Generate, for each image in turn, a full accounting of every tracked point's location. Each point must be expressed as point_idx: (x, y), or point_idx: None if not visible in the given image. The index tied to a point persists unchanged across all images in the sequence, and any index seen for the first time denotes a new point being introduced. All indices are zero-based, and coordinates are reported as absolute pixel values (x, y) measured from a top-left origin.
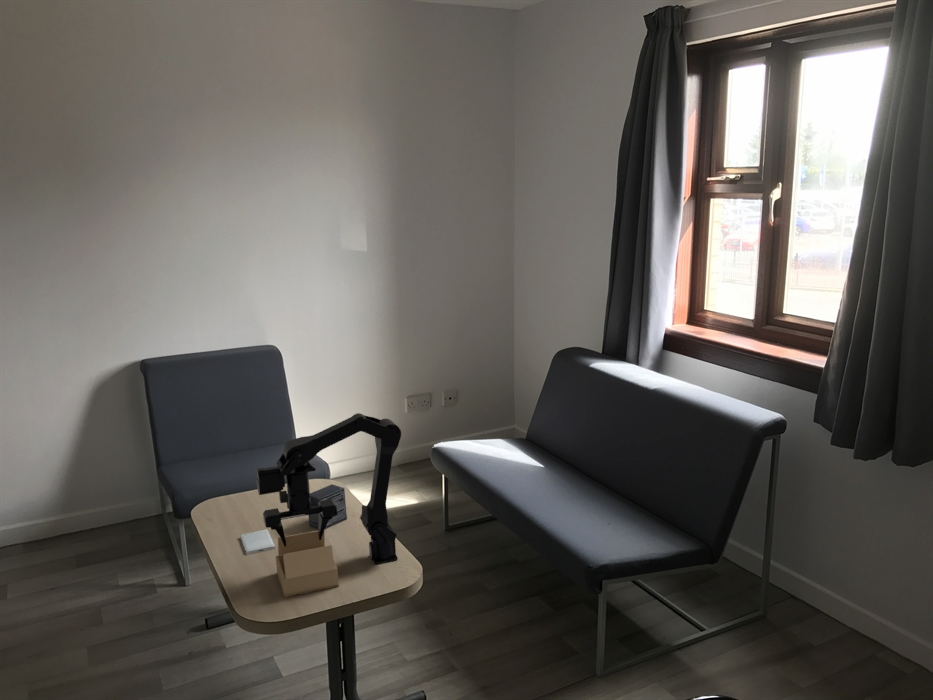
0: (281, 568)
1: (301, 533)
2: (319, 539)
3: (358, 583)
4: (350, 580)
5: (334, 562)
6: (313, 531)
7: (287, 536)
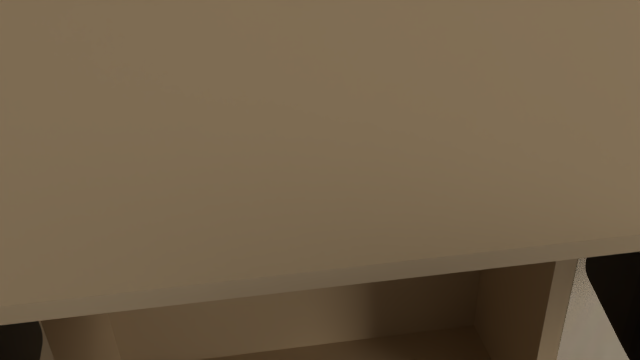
0: (44, 342)
1: (349, 273)
2: (594, 286)
3: (604, 317)
4: (576, 273)
5: (557, 348)
6: (610, 241)
7: (20, 318)
